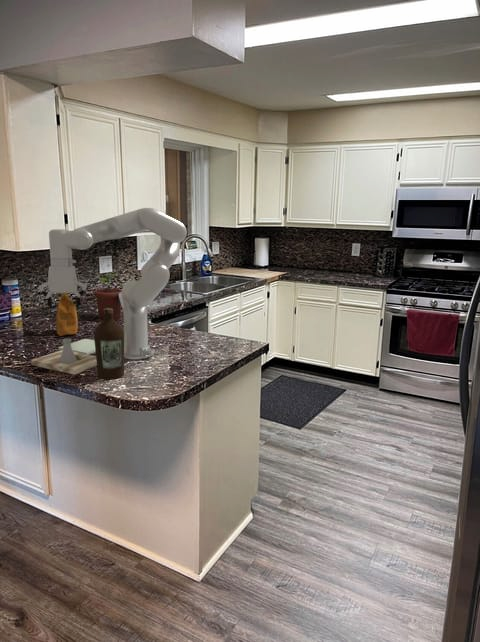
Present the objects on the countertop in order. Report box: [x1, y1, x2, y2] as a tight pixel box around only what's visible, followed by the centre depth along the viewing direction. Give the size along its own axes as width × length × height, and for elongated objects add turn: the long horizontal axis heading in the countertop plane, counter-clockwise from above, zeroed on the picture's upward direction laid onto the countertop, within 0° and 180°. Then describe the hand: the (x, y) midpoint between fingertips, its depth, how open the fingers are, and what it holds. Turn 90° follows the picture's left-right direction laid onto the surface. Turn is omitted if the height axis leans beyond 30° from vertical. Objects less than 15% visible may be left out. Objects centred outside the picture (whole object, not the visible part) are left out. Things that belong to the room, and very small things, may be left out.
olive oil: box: [93, 308, 125, 380], centre depth 167 cm, size 11×11×25 cm
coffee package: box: [55, 293, 79, 337], centre depth 223 cm, size 10×12×22 cm
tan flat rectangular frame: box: [31, 350, 97, 375], centre depth 181 cm, size 22×16×2 cm
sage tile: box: [57, 338, 96, 355], centre depth 203 cm, size 16×16×1 cm
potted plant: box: [93, 273, 123, 323], centre depth 252 cm, size 18×22×25 cm
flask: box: [58, 338, 78, 365], centre depth 180 cm, size 7×7×10 cm
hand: (64, 307), depth 177 cm, fingers open, 9 cm apart
